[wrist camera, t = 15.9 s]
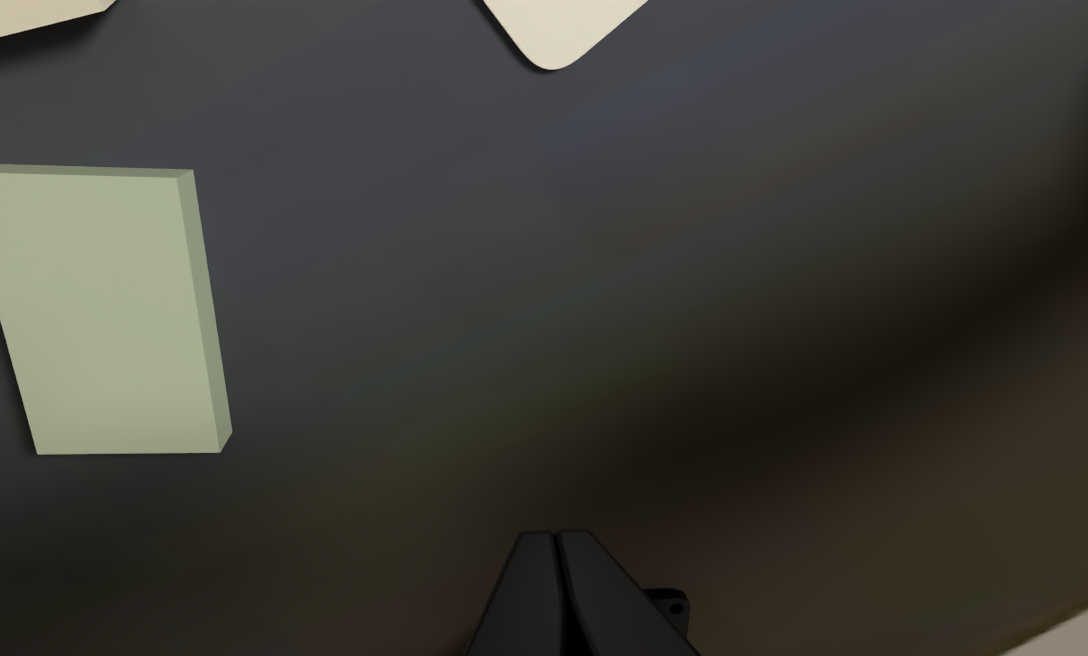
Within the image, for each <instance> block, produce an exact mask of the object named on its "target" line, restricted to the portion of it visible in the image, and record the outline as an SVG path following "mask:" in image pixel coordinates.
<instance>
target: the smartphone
mask: <svg viewBox="0 0 1088 656" xmlns="http://www.w3.org/2000/svg"><path fill="white" fill-rule="evenodd" d="M483 1H484V2H485V4H486V5H487V6H488V8H489V9H490V10H491V12H492V13H493V14H494V16H495V17H496V18H497V20H498V21H499V22H500V24H501V25H502V26H503V28H504V29H505V30H506V32H507V33H508V34H509V36H510V37H511V38H512V40H513V41H514V42H515V44H516V45H517V46H518V48H519V49H520V50H521V51H522V52H523V54H524V55H525V56H526V57H527V58H528V59H529V60H530V61H531V62H533V63H534V64H535V65H537V66H539V67H541V68H544V69H549V70H555V69H560V68H563V67H565V66H567V65H569V64H571V63H573V62H574V61H576V60H577V59H578V58H580V57H581V56H582V55H583V54H585V53H586V52H587V51H588V50H589V49H591V48H592V47H593V46H594V45H595V44H596V43H598V42H599V41H600V40H601V39H602V38H604V37H605V36H606V35H607V34H608V33H610V32H611V31H612V30H613V29H614V28H616V27H617V26H618V25H619V24H620V23H621V22H623V21H624V20H625V19H626V18H627V17H629V16H630V15H631V14H632V13H633V12H635V11H636V10H637V9H638V8H639V7H640V6H642V5H643V4H644V3H645V2H646V1H648V0H483Z"/></svg>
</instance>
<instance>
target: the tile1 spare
mask: <svg viewBox="0 0 1088 656" xmlns="http://www.w3.org/2000/svg"><path fill="white" fill-rule="evenodd" d="M0 321H1V325H2V328H3V332H4V335H5V339H6V343H7V346H8V350H9V353H10V357H11V361H12V364H13V368H14V371H15V375H16V379H17V382H18V386H19V390H20V393H21V397H22V400H23V404H24V408H25V411H26V415H27V418H28V422H29V426H30V429H31V433H32V436H33V440H34V444H35V447H36V451H37V454H130V453H220V452H221V450H222V448H223V447H224V445H225V443H226V442H227V440H228V438H229V437H230V435H231V433H232V427H231V420H230V413H229V407H228V400H227V393H226V387H225V380H224V373H223V367H222V360H221V353H220V347H219V340H218V334H217V327H216V320H215V314H214V307H213V300H212V294H211V287H210V280H209V274H208V267H207V260H206V254H205V247H204V240H203V234H202V227H201V220H200V214H199V207H198V200H197V194H196V187H195V180H194V174H193V170H183V169H148V168H114V167H79V166H44V165H10V164H0Z"/></svg>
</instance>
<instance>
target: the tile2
mask: <svg viewBox="0 0 1088 656" xmlns="http://www.w3.org/2000/svg"><path fill="white" fill-rule="evenodd" d="M115 1H116V0H0V37H2V36H6V35H10V34H14V33H18V32H22V31H26V30H30V29H34V28H38V27H42V26H46V25H49V24H53V23H57V22H61V21H65V20H69V19H73V18H77V17H81V16H85V15H89V14H93V13H97V12H101V11H105V10H106V9H107V8H108V7H109V6H110V5H111V4H112V3H114V2H115Z"/></svg>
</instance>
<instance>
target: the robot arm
mask: <svg viewBox="0 0 1088 656" xmlns="http://www.w3.org/2000/svg"><path fill="white" fill-rule="evenodd" d="M677 603H678V604H677ZM673 604H677V605H675V606H672V605H673ZM689 614H690V604H689V601H688V598H687V596H686V594H685V593H684V592H682V591H680V590H665V591H648V592H644V591H643V590H642V589H641V587H640V586H639V585H638V584H637V583H636V582H635V581H634V580H633V579H632V577H631V576H630V575H629V574H628V573H627V572H626V571H625V570H624V568H623V567H622V566H621V565H620V564H619V563H618V562H617V561H616V560H615V558H614V557H613V556H612V555H611V554H610V553H609V552H608V551H607V549H606V548H605V547H604V546H603V545H602V544H601V543H600V542H599V541H598V539H597V538H596V537H595V536H594V535H593V534H592V533H591V532H590V531H589V530H587V529H563V530H558V531H556V532H555V534H554V535H553V533H552V532H551V531H549V530H543V531H524V532H521V533H520V534H519V535H518V536H517V538H516V540H515V543H514V545H513V547H512V549H511V551H510V553H509V555H508V558H507V560H506V562H505V564H504V566H503V568H502V571H501V573H500V575H499V577H498V579H497V581H496V583H495V586H494V588H493V590H492V592H491V594H490V596H489V598H488V601H487V603H486V605H485V607H484V609H483V611H482V614H481V616H480V618H479V620H478V622H477V624H476V626H475V629H474V631H473V633H472V635H471V637H470V639H469V641H468V644H467V646H466V648H465V650H464V652H463V654H462V656H701V655H700V654H699V652H698V651H697V650H696V649H695V648H694V647H693V646H692V645H691V643H690V642H689V641H688V640H687V631H688V622H689Z"/></svg>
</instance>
